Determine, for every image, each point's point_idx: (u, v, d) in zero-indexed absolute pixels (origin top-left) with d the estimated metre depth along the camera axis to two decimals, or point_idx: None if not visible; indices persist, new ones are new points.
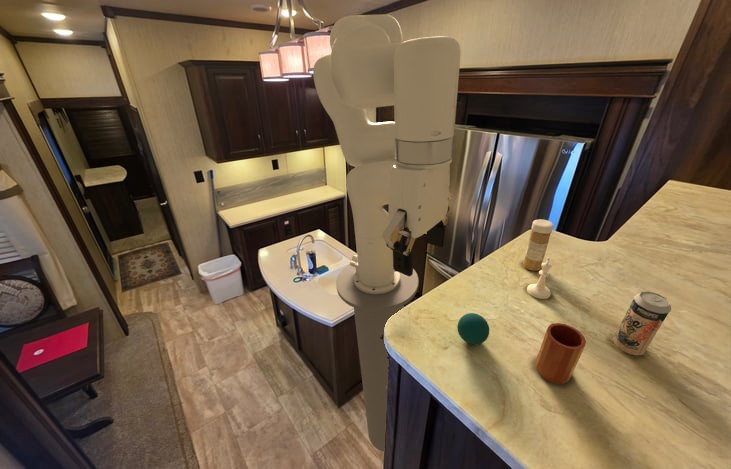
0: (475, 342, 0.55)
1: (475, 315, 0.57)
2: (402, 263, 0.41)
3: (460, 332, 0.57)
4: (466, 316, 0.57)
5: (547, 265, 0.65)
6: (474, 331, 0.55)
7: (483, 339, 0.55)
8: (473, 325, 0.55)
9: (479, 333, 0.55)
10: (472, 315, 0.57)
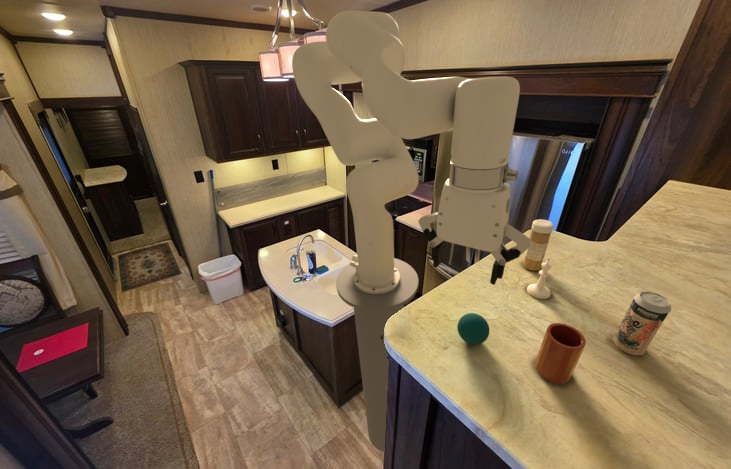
0: (475, 342, 0.55)
1: (475, 315, 0.57)
2: (432, 252, 0.51)
3: (460, 332, 0.57)
4: (466, 316, 0.57)
5: (547, 265, 0.65)
6: (474, 331, 0.55)
7: (483, 339, 0.55)
8: (473, 325, 0.55)
9: (479, 333, 0.55)
10: (472, 315, 0.57)
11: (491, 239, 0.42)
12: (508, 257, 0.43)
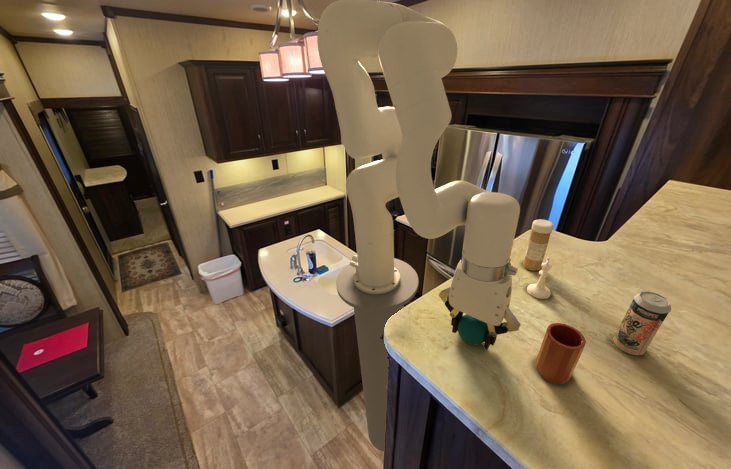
0: (475, 342, 0.55)
1: None
2: None
3: (460, 332, 0.57)
4: (466, 316, 0.57)
5: (547, 265, 0.65)
6: (474, 331, 0.55)
7: (483, 339, 0.55)
8: (473, 326, 0.55)
9: (479, 333, 0.55)
10: None
11: (493, 317, 0.50)
12: (499, 332, 0.53)
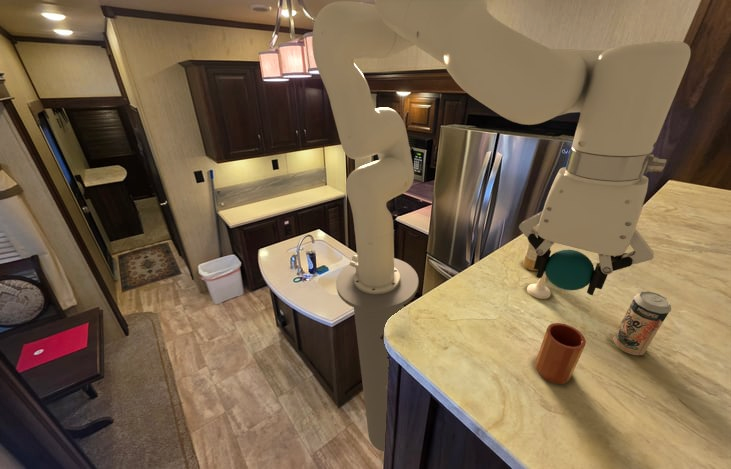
0: (576, 285, 0.40)
1: (573, 251, 0.42)
2: None
3: (553, 273, 0.42)
4: (560, 252, 0.42)
5: None
6: (576, 269, 0.40)
7: (588, 281, 0.40)
8: (575, 262, 0.40)
9: (583, 272, 0.40)
10: (568, 250, 0.42)
11: (616, 241, 0.36)
12: (617, 267, 0.38)
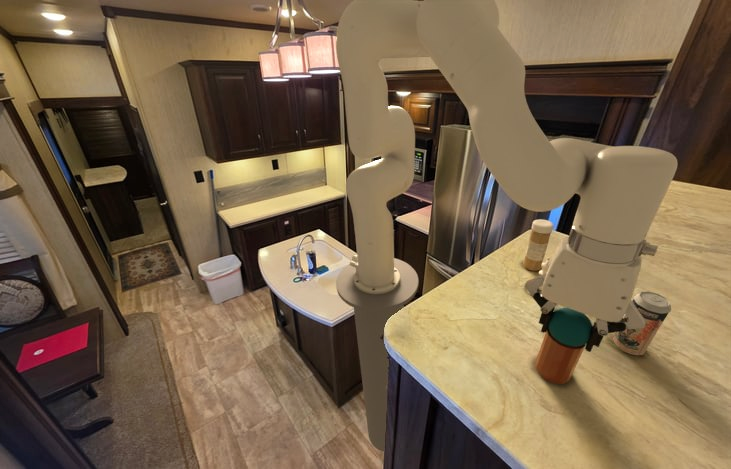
0: (577, 343, 0.44)
1: (574, 310, 0.46)
2: None
3: (555, 331, 0.46)
4: (562, 311, 0.46)
5: (547, 265, 0.65)
6: (577, 329, 0.44)
7: (587, 340, 0.44)
8: (575, 323, 0.44)
9: (583, 332, 0.43)
10: (569, 310, 0.46)
11: (613, 310, 0.39)
12: (612, 331, 0.42)
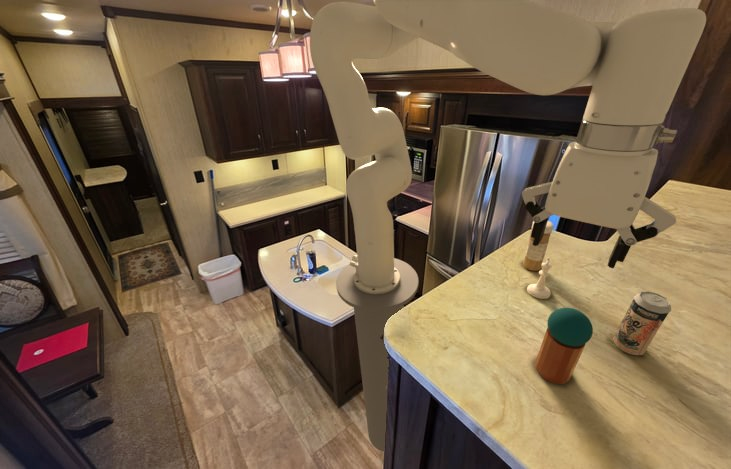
0: (577, 343, 0.44)
1: (574, 310, 0.46)
2: None
3: (555, 331, 0.46)
4: (561, 311, 0.46)
5: (547, 265, 0.65)
6: (576, 329, 0.44)
7: (587, 339, 0.44)
8: (575, 323, 0.44)
9: (583, 332, 0.43)
10: (569, 310, 0.46)
11: (623, 213, 0.36)
12: (640, 236, 0.37)
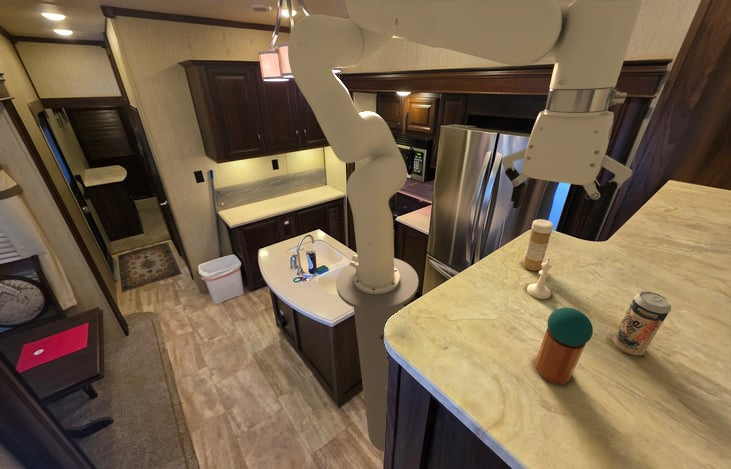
0: (577, 343, 0.44)
1: (574, 310, 0.46)
2: (512, 193, 0.51)
3: (555, 331, 0.46)
4: (561, 311, 0.46)
5: (547, 265, 0.65)
6: (576, 329, 0.44)
7: (587, 339, 0.44)
8: (575, 323, 0.44)
9: (583, 332, 0.43)
10: (569, 310, 0.46)
11: (587, 169, 0.41)
12: (603, 190, 0.42)
